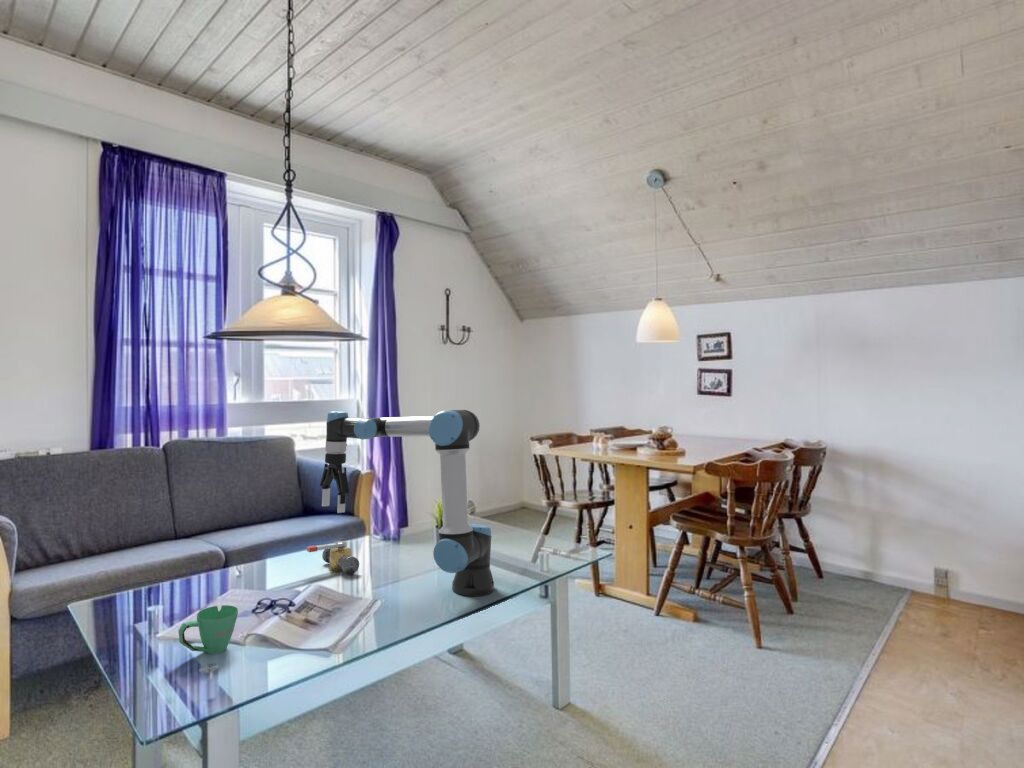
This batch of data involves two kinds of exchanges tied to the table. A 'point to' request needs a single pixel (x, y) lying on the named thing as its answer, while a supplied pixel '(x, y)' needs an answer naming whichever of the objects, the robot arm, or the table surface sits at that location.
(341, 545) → the lever
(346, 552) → the valve body
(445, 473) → the robot arm
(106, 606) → the table surface
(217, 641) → the mug
